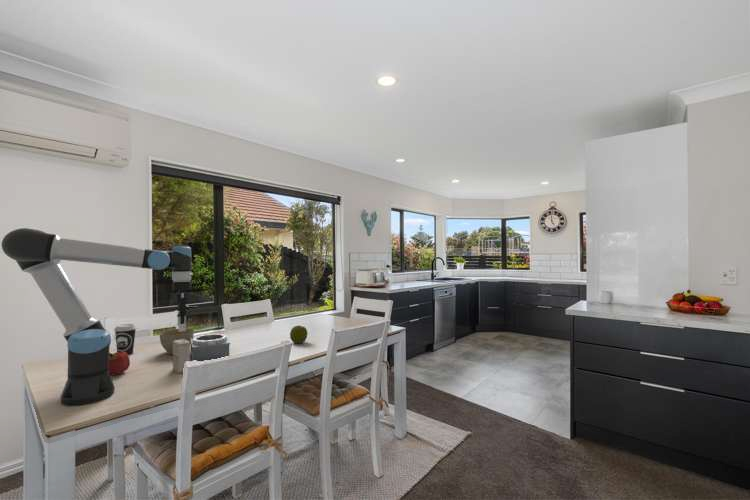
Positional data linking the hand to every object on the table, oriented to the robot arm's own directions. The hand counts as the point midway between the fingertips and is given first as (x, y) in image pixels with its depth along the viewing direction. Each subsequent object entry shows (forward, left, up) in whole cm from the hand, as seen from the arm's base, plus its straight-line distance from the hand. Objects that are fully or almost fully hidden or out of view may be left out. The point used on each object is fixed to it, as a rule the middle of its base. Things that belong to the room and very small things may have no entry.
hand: (181, 328), depth 155 cm
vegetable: (+9, +25, -19) cm, 33 cm away
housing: (+17, -13, -19) cm, 28 cm away
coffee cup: (+42, +24, -19) cm, 52 cm away
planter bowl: (+34, +1, -19) cm, 39 cm away
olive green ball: (+20, -61, -19) cm, 67 cm away
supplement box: (0, 0, -19) cm, 19 cm away
